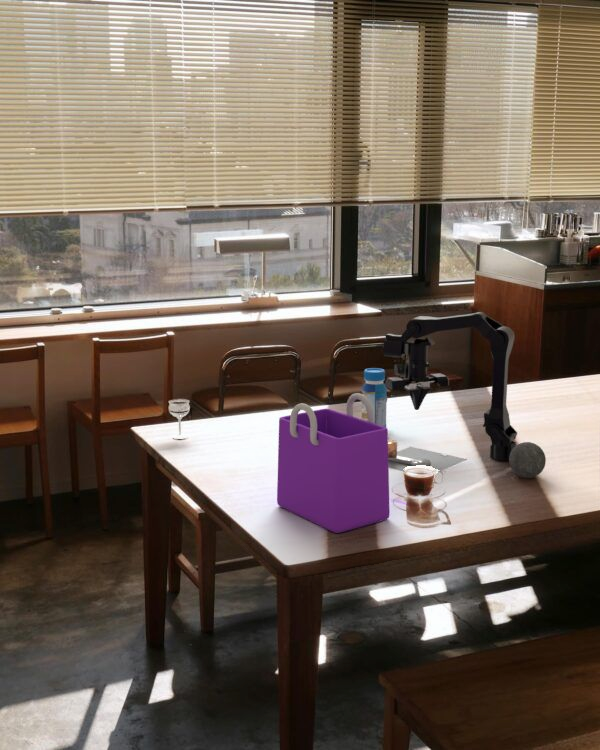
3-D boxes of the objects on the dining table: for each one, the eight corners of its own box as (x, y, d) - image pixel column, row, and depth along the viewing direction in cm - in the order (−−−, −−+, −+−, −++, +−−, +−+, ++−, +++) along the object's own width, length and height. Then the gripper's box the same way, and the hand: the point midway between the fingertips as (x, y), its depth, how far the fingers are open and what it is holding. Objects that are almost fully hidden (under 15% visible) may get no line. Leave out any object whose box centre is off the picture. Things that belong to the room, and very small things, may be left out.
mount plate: (466, 462, 300) (466, 458, 300) (426, 480, 285) (426, 476, 284) (410, 449, 313) (410, 446, 313) (369, 466, 297) (369, 462, 297)
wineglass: (192, 435, 330) (191, 399, 327) (188, 441, 323) (187, 404, 321) (172, 434, 331) (170, 398, 328) (167, 440, 324) (166, 403, 321)
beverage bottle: (387, 433, 331) (388, 372, 326) (361, 433, 331) (361, 372, 327) (386, 426, 339) (386, 367, 335) (360, 426, 339) (361, 367, 335)
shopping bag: (402, 514, 258) (404, 399, 252) (347, 539, 243) (347, 416, 236) (319, 490, 277) (318, 382, 270) (262, 511, 261) (260, 397, 255)
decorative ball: (518, 484, 281) (520, 449, 279) (502, 473, 290) (503, 439, 288) (551, 480, 283) (553, 446, 281) (534, 470, 293) (535, 436, 291)
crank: (434, 464, 295) (434, 447, 294) (424, 469, 290) (424, 452, 289) (389, 455, 303) (389, 439, 302) (378, 460, 299) (379, 444, 297)
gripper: (433, 351, 316) (432, 400, 319) (378, 356, 310) (377, 406, 313) (450, 358, 306) (449, 409, 309) (393, 363, 300) (392, 414, 303)
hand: (416, 409), depth 309 cm, fingers closed
